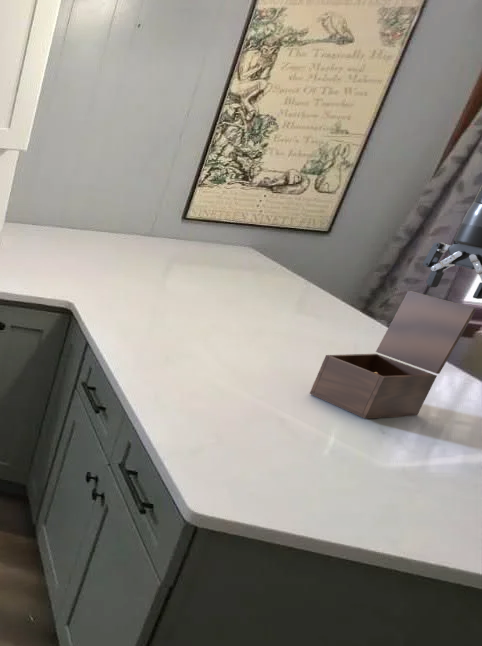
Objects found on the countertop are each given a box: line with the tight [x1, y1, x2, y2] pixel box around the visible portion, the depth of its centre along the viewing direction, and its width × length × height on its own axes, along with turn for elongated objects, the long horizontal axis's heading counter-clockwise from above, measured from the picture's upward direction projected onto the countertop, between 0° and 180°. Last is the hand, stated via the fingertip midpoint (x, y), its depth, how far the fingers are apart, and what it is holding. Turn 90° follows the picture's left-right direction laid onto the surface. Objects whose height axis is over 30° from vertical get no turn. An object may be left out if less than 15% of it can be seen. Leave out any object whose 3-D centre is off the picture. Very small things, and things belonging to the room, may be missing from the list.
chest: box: [309, 353, 438, 420], centre depth 153 cm, size 16×13×11 cm
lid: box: [375, 290, 477, 375], centre depth 150 cm, size 16×13×5 cm
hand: (454, 292), depth 147 cm, fingers open, 8 cm apart
